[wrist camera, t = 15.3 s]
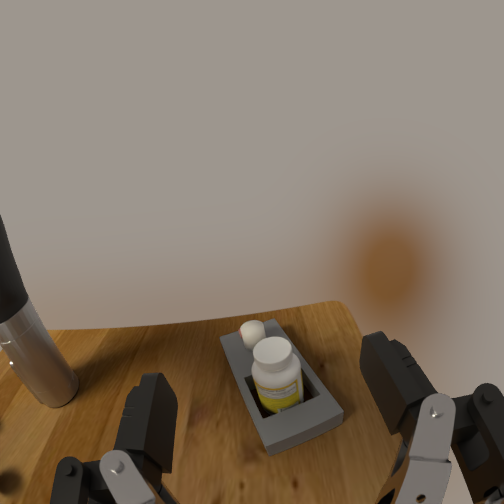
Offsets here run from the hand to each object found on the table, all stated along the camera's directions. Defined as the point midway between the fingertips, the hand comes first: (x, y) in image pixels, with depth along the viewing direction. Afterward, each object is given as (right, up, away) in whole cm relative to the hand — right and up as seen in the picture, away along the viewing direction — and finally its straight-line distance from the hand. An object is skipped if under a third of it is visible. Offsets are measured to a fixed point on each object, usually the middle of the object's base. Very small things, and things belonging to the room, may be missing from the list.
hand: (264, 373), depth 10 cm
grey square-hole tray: (+2, -13, +23) cm, 27 cm away
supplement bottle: (+3, -14, +20) cm, 25 cm away
